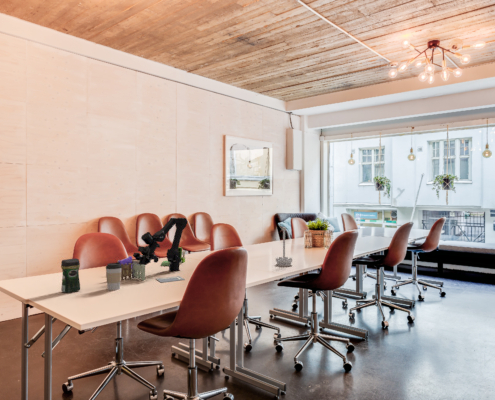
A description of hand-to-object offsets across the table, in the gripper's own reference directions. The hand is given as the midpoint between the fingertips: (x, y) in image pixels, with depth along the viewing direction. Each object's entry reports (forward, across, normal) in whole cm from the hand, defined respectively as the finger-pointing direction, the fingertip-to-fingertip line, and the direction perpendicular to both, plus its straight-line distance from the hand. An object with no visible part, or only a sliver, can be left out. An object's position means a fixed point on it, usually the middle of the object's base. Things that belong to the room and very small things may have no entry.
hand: (139, 267), depth 252 cm
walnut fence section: (+10, -9, 0) cm, 13 cm away
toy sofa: (-3, -22, +14) cm, 27 cm away
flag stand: (-60, +61, +73) cm, 112 cm away
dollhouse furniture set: (-34, -18, +46) cm, 60 cm away
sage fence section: (+5, 0, +4) cm, 7 cm away
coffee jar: (+35, -11, -25) cm, 45 cm away
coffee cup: (+24, +6, -13) cm, 28 cm away
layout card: (-1, +18, +12) cm, 22 cm away
